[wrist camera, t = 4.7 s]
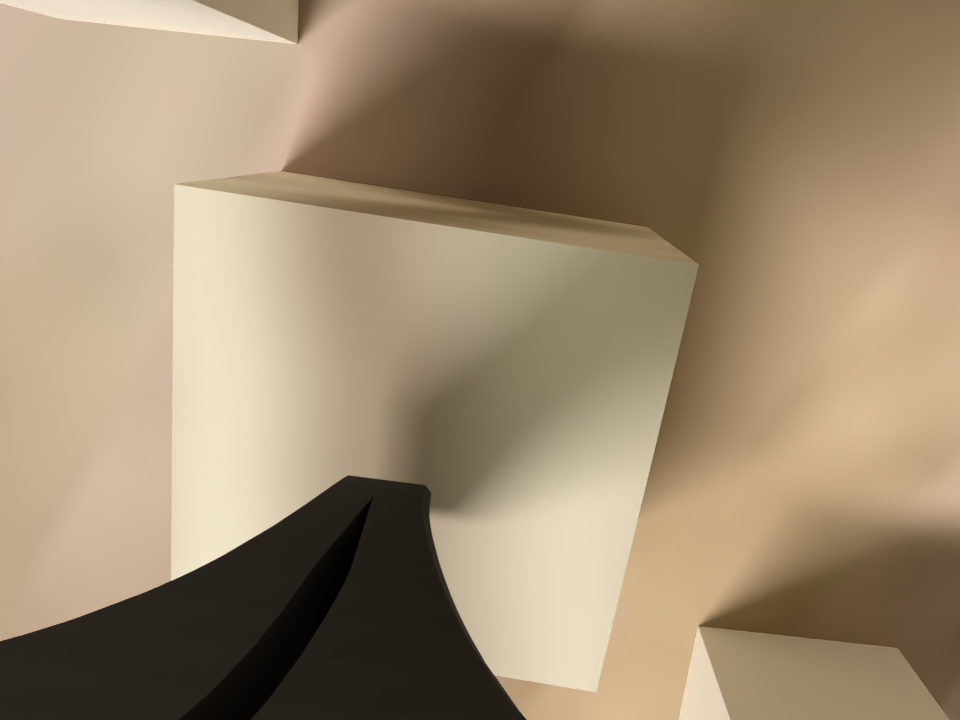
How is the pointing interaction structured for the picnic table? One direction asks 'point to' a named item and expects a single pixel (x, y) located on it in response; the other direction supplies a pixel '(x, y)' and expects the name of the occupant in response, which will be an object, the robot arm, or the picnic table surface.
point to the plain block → (428, 388)
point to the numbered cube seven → (182, 15)
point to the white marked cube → (800, 680)
